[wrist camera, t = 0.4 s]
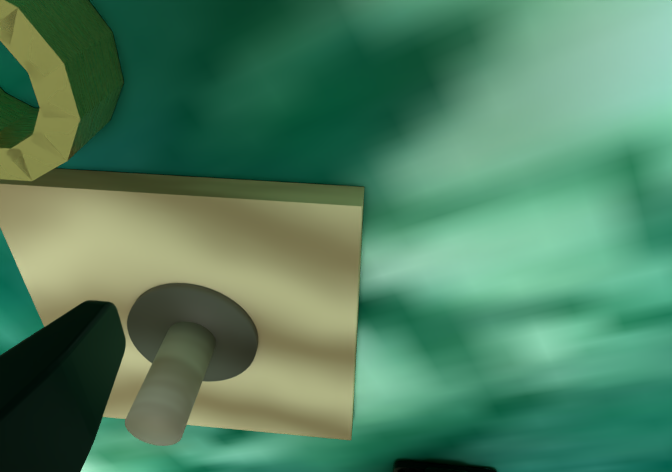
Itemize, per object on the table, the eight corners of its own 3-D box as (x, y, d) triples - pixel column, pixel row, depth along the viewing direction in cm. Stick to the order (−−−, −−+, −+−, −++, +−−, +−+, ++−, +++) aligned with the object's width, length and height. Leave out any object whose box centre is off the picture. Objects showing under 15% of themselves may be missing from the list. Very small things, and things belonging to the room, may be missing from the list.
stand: (353, 417, 32) (342, 540, 26) (95, 394, 33) (32, 506, 27) (364, 186, 22) (351, 301, 17) (2, 165, 24) (-123, 265, 18)
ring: (137, 142, 22) (99, 185, 19) (-22, 133, 23) (-82, 174, 20) (94, -47, 18) (37, -27, 15) (-100, -52, 19) (-189, -34, 16)
